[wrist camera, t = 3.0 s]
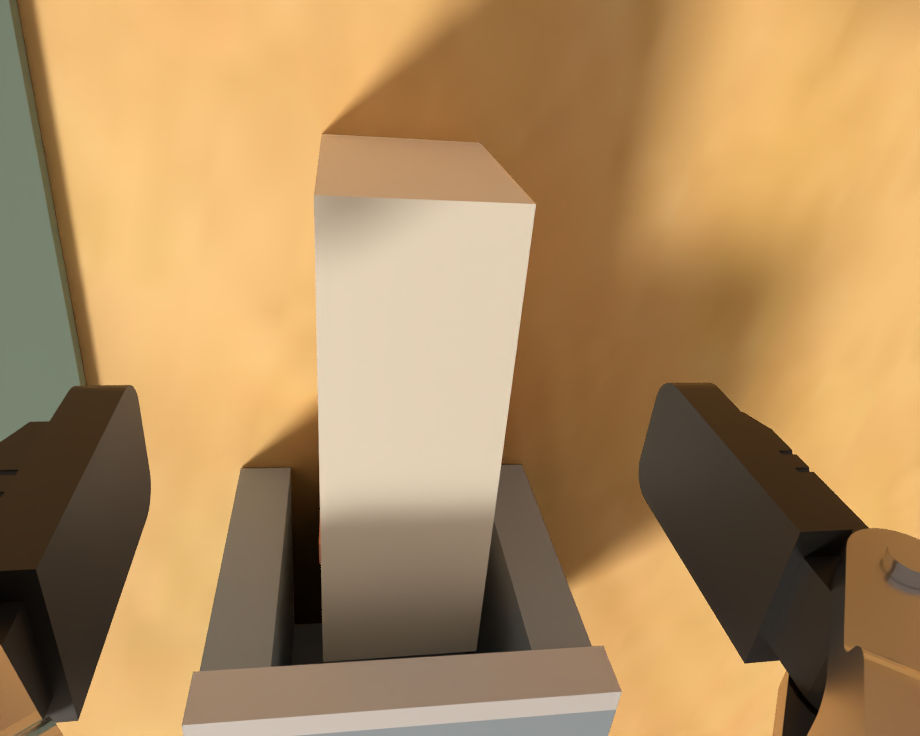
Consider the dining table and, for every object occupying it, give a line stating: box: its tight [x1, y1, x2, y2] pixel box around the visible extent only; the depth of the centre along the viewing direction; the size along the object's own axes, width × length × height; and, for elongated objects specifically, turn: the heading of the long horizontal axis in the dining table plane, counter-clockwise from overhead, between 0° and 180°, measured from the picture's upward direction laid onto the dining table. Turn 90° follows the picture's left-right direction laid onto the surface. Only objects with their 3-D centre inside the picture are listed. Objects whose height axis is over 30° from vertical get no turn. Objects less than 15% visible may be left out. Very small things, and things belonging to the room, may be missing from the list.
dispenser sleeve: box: [182, 465, 622, 736], centre depth 20 cm, size 9×9×9 cm
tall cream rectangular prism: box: [314, 134, 536, 662], centre depth 18 cm, size 4×12×6 cm, turn 175°
